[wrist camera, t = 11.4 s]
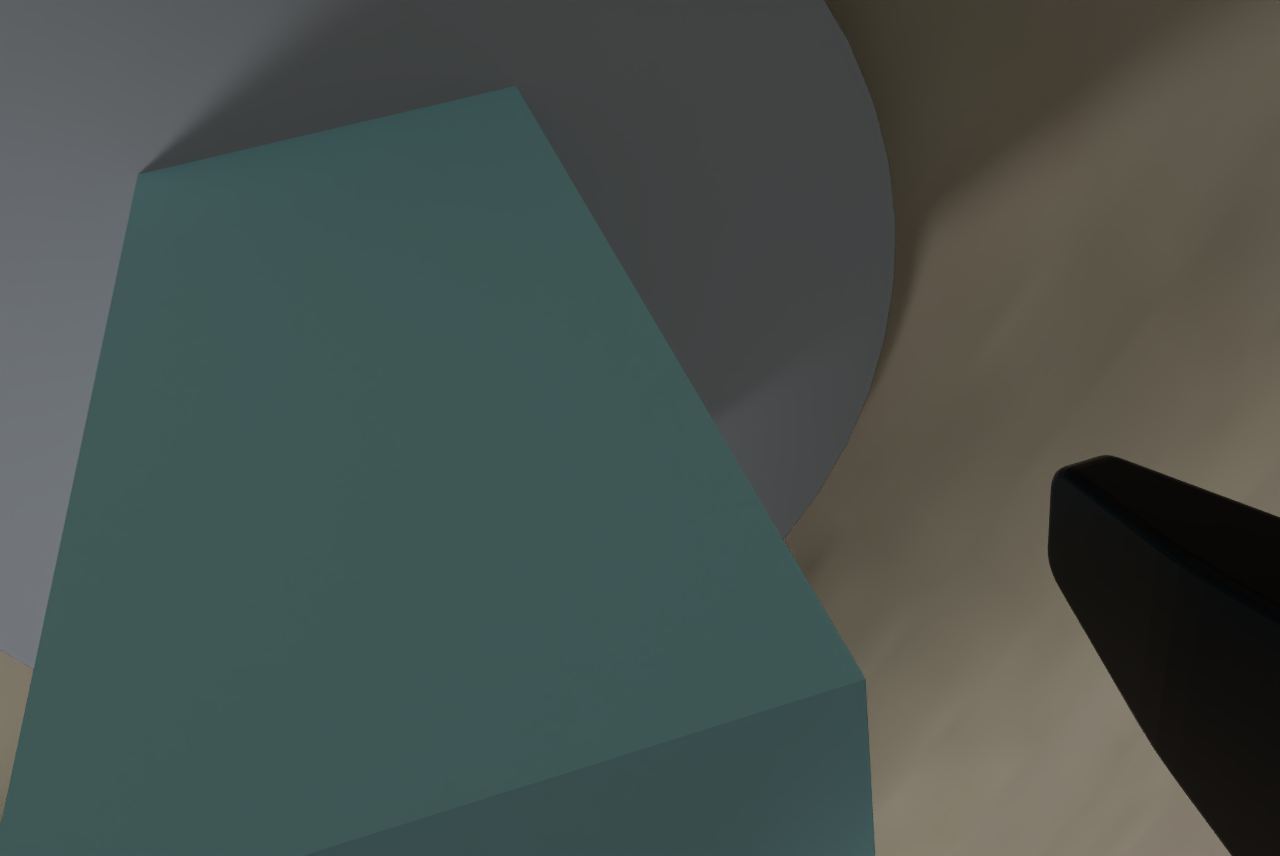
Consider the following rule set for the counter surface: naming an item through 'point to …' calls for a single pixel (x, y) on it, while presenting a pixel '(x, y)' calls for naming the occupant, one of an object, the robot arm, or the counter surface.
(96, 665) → the plug
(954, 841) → the counter surface
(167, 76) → the coaster
